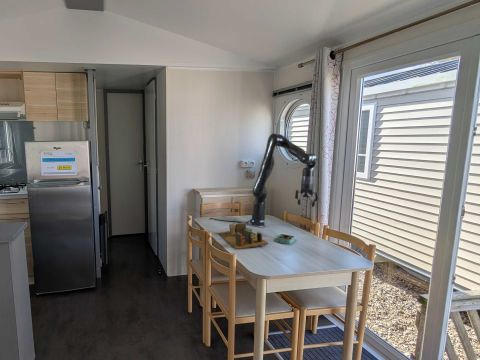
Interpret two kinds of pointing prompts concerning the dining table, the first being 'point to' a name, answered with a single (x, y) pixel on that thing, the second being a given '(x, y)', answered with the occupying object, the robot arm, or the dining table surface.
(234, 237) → the brown tray with blocks
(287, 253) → the dining table surface
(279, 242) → the holder
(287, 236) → the frame
